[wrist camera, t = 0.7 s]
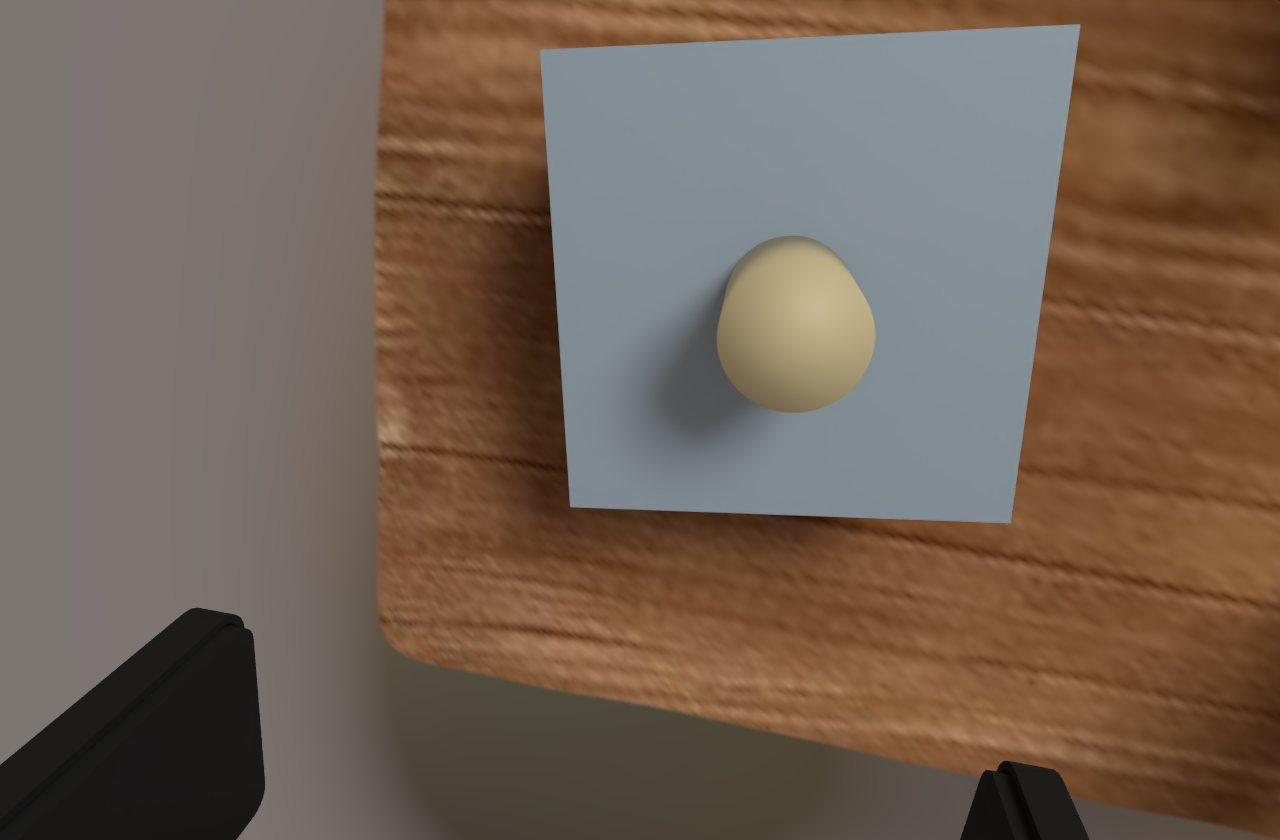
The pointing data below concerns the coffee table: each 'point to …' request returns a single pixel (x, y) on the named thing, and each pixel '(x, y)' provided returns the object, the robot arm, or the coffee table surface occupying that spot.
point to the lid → (804, 268)
